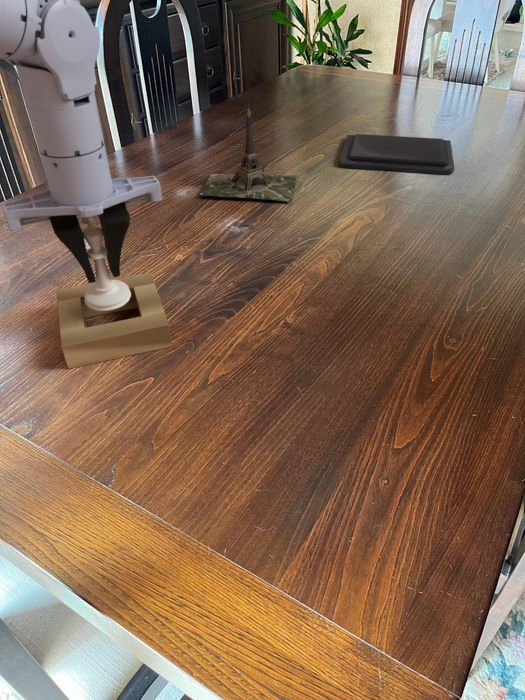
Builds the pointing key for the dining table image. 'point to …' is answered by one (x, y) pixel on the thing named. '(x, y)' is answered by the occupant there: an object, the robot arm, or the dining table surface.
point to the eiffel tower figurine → (250, 178)
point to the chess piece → (102, 274)
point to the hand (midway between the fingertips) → (102, 275)
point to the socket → (112, 324)
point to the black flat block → (397, 154)
